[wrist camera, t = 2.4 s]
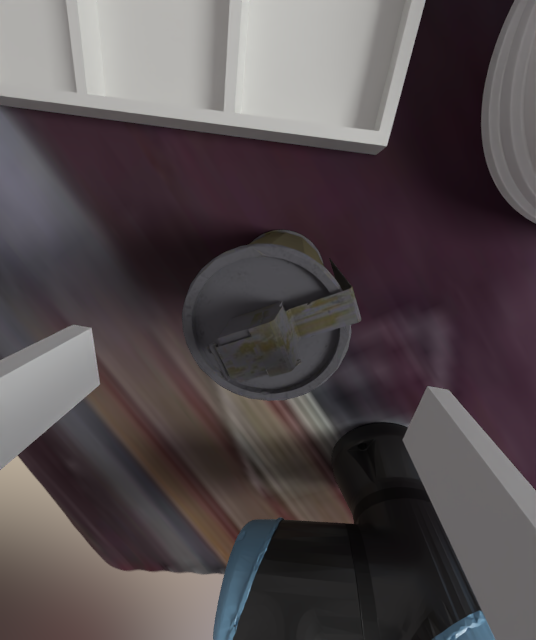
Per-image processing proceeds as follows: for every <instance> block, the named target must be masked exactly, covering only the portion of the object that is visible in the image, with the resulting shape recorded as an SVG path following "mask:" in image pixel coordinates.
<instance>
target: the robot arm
mask: <svg viewBox="0 0 536 640" xmlns="http://www.w3.org/2000/svg"><path fill="white" fill-rule="evenodd" d="M99 385H100V381H99V375H98V368H97V362H96V355H95V348H94V342H93V335H92V328H89V327H83V326H77V325H72V326H69V327H67V328H65V329H63V330H61V331H59V332H57V333H55V334H53V335H51V336H49V337H47V338H45V339H43V340H41V341H39V342H37V343H35V344H33V345H31V346H28V347H26V348H24V349H22V350H20V351H18V352H16V353H14V354H12V355H10V356H8V357H6V358H4V359H2V360H0V470H1V469H2V468H3V467H4V466H5V465H7V464H8V463H9V462H10V461H11V460H12V459H14V458H15V457H16V456H17V455H18V454H19V453H21V452H22V451H23V450H24V449H25V448H26V447H28V446H29V445H30V444H31V443H32V442H33V441H35V440H36V439H37V438H38V437H39V436H40V435H42V434H43V433H44V432H45V431H46V430H47V429H49V428H50V427H51V426H52V425H53V424H54V423H56V422H57V421H58V420H59V419H60V418H61V417H63V416H64V415H65V414H66V413H67V412H68V411H70V410H71V409H72V408H73V407H74V406H75V405H77V404H78V403H79V402H80V401H81V400H82V399H84V398H85V397H86V396H87V395H88V394H89V393H91V392H92V391H93V390H94V389H95V388H96V387H98V386H99ZM332 466H333V473H334V477H335V480H336V482H337V484H338V486H339V488H340V490H341V492H342V494H343V496H344V498H345V500H346V502H347V504H348V506H349V508H350V510H351V512H352V515H353V519H354V524H345V523H329V522H313V521H296V520H284V519H283V518H280V517H279V518H278V519H264V520H252V521H250V522H248V523H247V524H246V525H245V526H244V527H243V528H242V530H241V531H240V533H239V535H238V537H237V539H236V541H235V544H234V546H233V549H232V552H231V554H230V557H229V561H228V564H227V567H226V571H225V575H224V578H223V583H222V587H221V591H220V596H219V601H218V606H217V612H216V617H215V624H214V632H213V639H214V640H536V491H535V489H534V488H533V487H532V486H531V485H530V484H529V482H528V481H527V480H526V479H525V478H524V477H523V476H522V474H521V473H520V472H519V471H518V470H517V469H516V467H515V466H514V465H513V464H512V463H511V462H510V460H509V459H508V458H507V457H506V456H505V455H504V454H503V452H502V451H501V450H500V449H499V448H498V447H497V445H496V444H495V443H494V442H493V441H492V440H491V439H490V437H489V436H488V435H487V434H486V433H485V432H484V430H483V429H482V428H481V427H480V426H479V425H478V423H477V422H476V421H475V420H474V419H473V418H472V417H471V415H470V414H469V413H468V412H467V411H466V410H465V408H464V407H463V406H462V405H461V404H460V403H459V401H458V400H457V399H456V398H455V397H454V396H453V395H452V393H451V392H450V391H449V390H447V389H441V388H435V387H429V386H427V388H426V390H425V393H424V395H423V397H422V399H421V401H420V403H419V405H418V408H417V410H416V412H415V414H414V416H413V418H412V421H411V423H410V425H409V427H408V428H407V427H404V426H401V425H397V424H390V423H376V424H369V425H365V426H362V427H359V428H356V429H354V430H352V431H350V432H349V433H347V434H346V435H344V436H343V437H342V438H341V439H340V440H339V441H338V443H337V444H336V446H335V447H334V450H333V453H332Z"/></svg>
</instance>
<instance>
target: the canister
mask: <svg viewBox="0 0 536 640" xmlns="http://www.w3.org/2000/svg"><path fill="white" fill-rule="evenodd" d="M329 259H330V258H329ZM330 262H331V265H332V269H333V272H334V275H335V278H334V277H333V276H332V275H331V273H330V272H329V271H328V270H327V269H326V268H325V267H324V265H323V261H322V258H321V255H320V253H319V251H318V250H317V248H316V247H315V246H314V244H313V243H312V242H311V241H310V240H308V239H307V238H306V237H304V236H303V235H301V234H298V233H296V232H293V231H289V230H274V231H270V232H267V233H264V234H262V235H260V236H259V237H257V238H256V239H255V240H253V241H252V242H251V243H250V244H248V245H244V246H239V247H237V248H234V249H232V250H229V251H226V252H224V253H222V254H221V255H219V256H217V257H216V258H214V259H212V260H211V261H210V262H209V263H208V264H207V265H206V266H204V267H203V268H202V269H201V270H200V272H199V273H198V274H197V276H196V277H195V279H194V280H193V281H192V283H191V285H190V287H189V290H188V293H187V296H186V299H185V301H184V306H183V311H182V323H183V332H184V336H185V339H186V343H187V346H188V348H189V350H190V352H191V354H192V356H193V358H194V359H195V361H196V363H197V364H198V366H199V367H200V369H202V370H203V371H204V372H205V373H206V374H207V375H208V376H209V377H210V378H212V379H213V380H214V381H215V382H216V383H217V384H219V385H220V386H222V387H223V388H225V389H227V390H229V391H231V392H233V393H235V394H238V395H241V396H244V397H247V398H251V399H259V400H267V401H270V400H287V399H290V398H294V397H298V396H301V395H304V394H306V393H308V392H310V391H312V390H314V389H315V388H317V387H318V386H320V385H321V384H323V383H324V382H326V380H327V379H328V378H329V377H330V376H331V375H332V374H333V373H334V372H335V371H336V370H337V369H338V368H339V366H340V364H341V362H342V360H343V358H344V356H345V354H346V352H347V350H348V346H349V341H350V336H351V324H354V323H358V322H360V321H361V316H360V313H359V309H358V306H357V302H356V299H355V295H354V292H353V288H352V286H351V285H350V283H349V282H348V281H347V280H346V278H345V277H344V276H343V275H342V273H341V272H340V271H339V269H338V268H337V267H336V266H335V264H334V263H333V262H332V261H331V259H330ZM336 280H337V281H336ZM338 283H339V284H338ZM341 288H342V289H341Z"/></svg>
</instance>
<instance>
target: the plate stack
mask: <svg viewBox="0 0 536 640" xmlns="http://www.w3.org/2000/svg"><path fill="white" fill-rule="evenodd" d="M481 133H482V143H483V150H484V155H485V159H486V163H487V166H488V169H489V172H490V174H491V177H492V179H493V181H494V183H495V185H496V187H497V188H498V190H499V192H500V193H501V194H502V196H503V197H504V198H505V200H506V201H507V202H508V203H509V204H510V205H511V206H512V207H513V208H514V209H515V210H516V211H517V212H518V213H520V214H521V215H522V216H524V217H525V218H527V219H528V220H530V221H532V222H534V223H535V224H536V0H514V2H513V4H512V6H511V9H510V11H509V13H508V15H507V17H506V19H505V22H504V24H503V26H502V29H501V31H500V34H499V36H498V39H497V42H496V45H495V48H494V51H493V54H492V57H491V61H490V64H489V68H488V72H487V76H486V81H485V86H484V93H483V100H482V111H481Z"/></svg>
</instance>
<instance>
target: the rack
mask: <svg viewBox="0 0 536 640" xmlns="http://www.w3.org/2000/svg"><path fill="white" fill-rule="evenodd" d="M425 1H426V0H0V105H2V106H10V107H17V108H25V109H32V110H40V111H47V112H55V113H63V114H70V115H78V116H85V117H93V118H100V119H108V120H115V121H123V122H131V123H138V124H146V125H153V126H161V127H168V128H176V129H183V130H191V131H199V132H206V133H214V134H221V135H229V136H236V137H244V138H251V139H259V140H267V141H274V142H282V143H289V144H297V145H304V146H312V147H319V148H327V149H335V150H342V151H350V152H357V153H365V154H372V155H376V154H378V153H379V152H380V151H381V150H383V149H384V148H385V147H386V146H387V144H388V140H389V137H390V133H391V129H392V125H393V122H394V118H395V114H396V110H397V106H398V103H399V99H400V95H401V91H402V88H403V84H404V80H405V76H406V73H407V69H408V65H409V61H410V57H411V54H412V50H413V46H414V42H415V39H416V35H417V31H418V27H419V24H420V20H421V16H422V12H423V8H424V5H425Z"/></svg>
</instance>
